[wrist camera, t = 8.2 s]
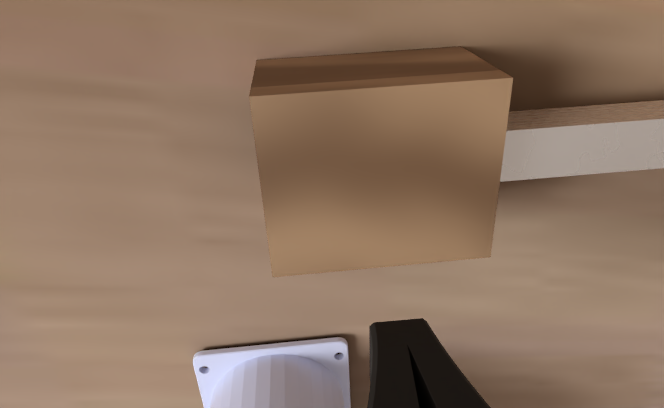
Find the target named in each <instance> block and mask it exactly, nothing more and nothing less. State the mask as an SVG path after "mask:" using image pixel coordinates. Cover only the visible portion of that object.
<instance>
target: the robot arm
mask: <svg viewBox="0 0 664 408" xmlns="http://www.w3.org/2000/svg"><path fill="white" fill-rule="evenodd" d="M336 353H341V354H336ZM193 366H194V370H195V374H196V378H197V382H198V386H199V389H200V393H201V397H202V401H203V405H204V408H351V403H350V380H349V356H348V344H347V341H346V340H345V339H344V338H342V337H335V338H325V339H315V340H305V341H295V342H285V343H275V344H265V345H255V346H245V347H235V348H225V349H215V350H205V351H199V352H197V353H196V354H195V355H194V358H193ZM203 366H206V367H207V368H203ZM370 382H371V384H370V394H369V401H368V407H367V408H490V406H489V405H488V404H487V403H486V402H485V401H484V399H483V398H482V397H481V396H480V395H479V393H478V392H477V391H476V390H475V388H474V387H473V386H472V385H471V383H470V382H469V381H468V380H467V378H466V377H465V376H464V375H463V373H462V372H461V371H460V369H459V368H458V367H457V365H456V364H455V363H454V361H453V360H452V359H451V357H450V356H449V354H448V353H447V352H446V350H445V349H444V347H443V346H442V345H441V343H440V342H439V340H438V339H437V337H436V336H435V334H434V333H433V331H432V329H431V328H430V326H429V325H428V323H427V321H425V320H424V319H423V318H422V319H410V320H399V321H387V322H376V323H373V324H372V325H371V326H370Z"/></svg>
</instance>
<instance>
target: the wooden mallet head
mask: <svg viewBox="0 0 664 408" xmlns="http://www.w3.org/2000/svg"><path fill="white" fill-rule="evenodd" d="M512 84H513V77H511V76H509V75H508V74H506V73H504V72H503V71H501V70H499V69H498V68H496V67H494V66H493V65H491V64H489V63H488V62H486V61H484V60H483V59H481V58H479V57H478V56H476V55H474V54H473V53H471V52H469V51H468V50H466V49H464V48H463V47H461V46H460V47H445V48H430V49H416V50H401V51H386V52H371V53H356V54H341V55H327V56H312V57H297V58H282V59H267V60H257V61H256V66H255V71H254V75H253V80H252V85H251V90H250V95H249V100H250V108H251V115H252V123H253V131H254V138H255V146H256V154H257V162H258V169H259V177H260V185H261V192H262V200H263V208H264V215H265V223H266V231H267V239H268V246H269V254H270V262H271V269H272V277H281V276H292V275H302V274H313V273H324V272H335V271H346V270H356V269H367V268H378V267H389V266H400V265H411V264H421V263H432V262H443V261H454V260H465V259H475V258H486V257H490V255H491V248H492V240H493V232H494V224H495V216H496V209H497V201H498V193H499V185H500V177H501V169H502V162H503V154H504V146H505V138H506V130H507V123H508V115H509V107H510V99H511V91H512Z"/></svg>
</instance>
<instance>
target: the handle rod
mask: <svg viewBox="0 0 664 408" xmlns="http://www.w3.org/2000/svg"><path fill="white" fill-rule="evenodd" d="M659 168H664V100H657V101H644V102H631V103H618V104H604V105H591V106H578V107H565V108H551V109H538V110H525V111H512V112H509V115H508V123H507V130H506V138H505V146H504V154H503V162H502V169H501V177H500V182H503V181H515V180H527V179H539V178H551V177H563V176H575V175H587V174H599V173H611V172H623V171H635V170H647V169H659Z"/></svg>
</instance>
